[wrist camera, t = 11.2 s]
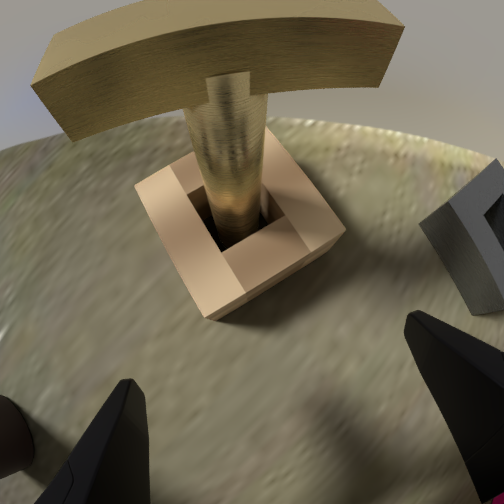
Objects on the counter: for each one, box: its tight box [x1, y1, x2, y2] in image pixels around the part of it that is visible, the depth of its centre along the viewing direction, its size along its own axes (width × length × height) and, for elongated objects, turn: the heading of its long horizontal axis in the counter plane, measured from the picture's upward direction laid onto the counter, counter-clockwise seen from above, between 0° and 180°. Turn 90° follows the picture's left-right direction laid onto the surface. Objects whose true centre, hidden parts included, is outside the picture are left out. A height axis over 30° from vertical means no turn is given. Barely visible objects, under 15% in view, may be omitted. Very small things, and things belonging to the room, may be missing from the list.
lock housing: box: [419, 159, 504, 315], centre depth 16 cm, size 8×8×4 cm
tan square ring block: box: [134, 127, 346, 321], centre depth 17 cm, size 8×8×4 cm
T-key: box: [31, 0, 405, 249], centre depth 12 cm, size 8×2×15 cm, turn 103°
